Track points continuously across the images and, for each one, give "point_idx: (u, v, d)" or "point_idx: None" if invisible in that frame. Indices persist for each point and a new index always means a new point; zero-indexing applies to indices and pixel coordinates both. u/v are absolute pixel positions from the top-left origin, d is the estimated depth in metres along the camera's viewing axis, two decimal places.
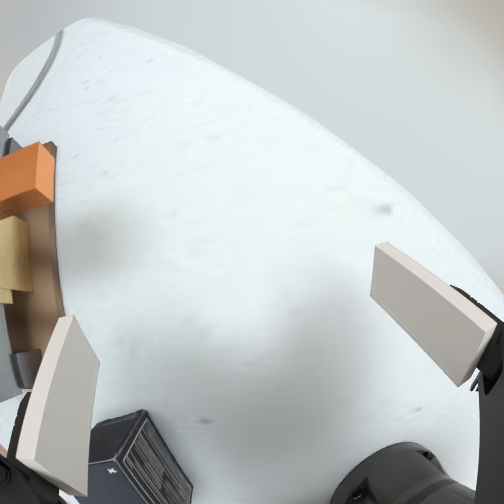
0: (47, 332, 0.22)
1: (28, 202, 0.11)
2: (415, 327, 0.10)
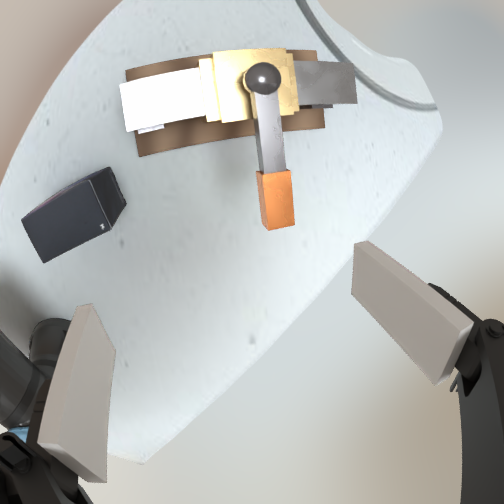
0: (178, 135, 0.35)
1: (263, 215, 0.27)
2: (392, 325, 0.10)
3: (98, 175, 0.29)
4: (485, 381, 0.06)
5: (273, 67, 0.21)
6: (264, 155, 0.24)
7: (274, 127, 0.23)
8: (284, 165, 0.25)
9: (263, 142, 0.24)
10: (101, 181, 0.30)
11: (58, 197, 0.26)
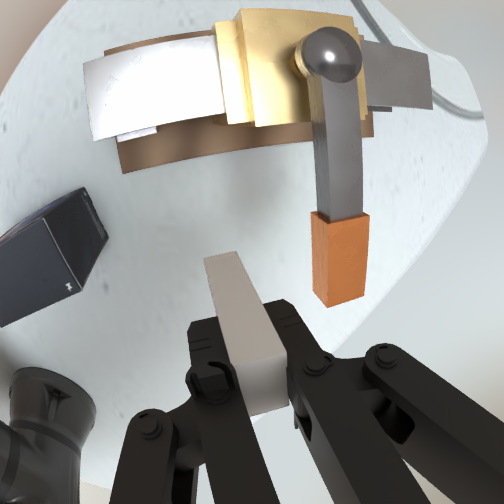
0: (177, 143, 0.24)
1: (318, 281, 0.17)
2: None
3: (61, 205, 0.19)
4: (318, 432, 0.06)
5: (350, 38, 0.11)
6: (332, 189, 0.14)
7: (350, 142, 0.13)
8: (361, 206, 0.15)
9: (333, 168, 0.13)
10: (66, 215, 0.19)
11: (5, 242, 0.15)
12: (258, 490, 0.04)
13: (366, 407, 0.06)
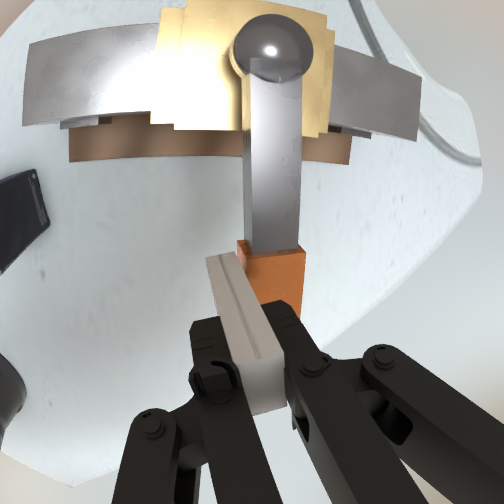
0: (127, 138, 0.21)
1: None
2: None
3: (1, 185, 0.15)
4: (316, 434, 0.06)
5: (299, 28, 0.09)
6: (256, 218, 0.12)
7: (285, 159, 0.11)
8: (295, 240, 0.12)
9: (258, 191, 0.11)
10: (3, 195, 0.16)
11: None
12: (260, 488, 0.04)
13: (363, 408, 0.06)
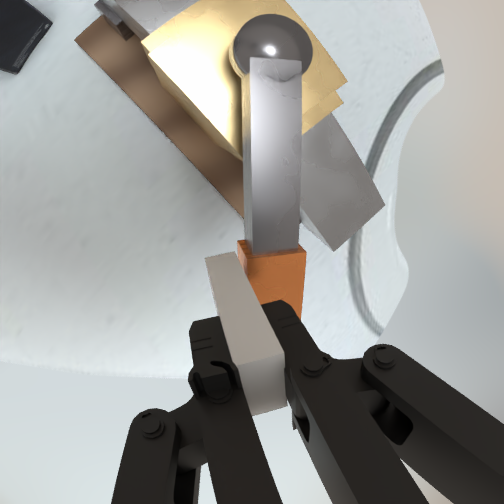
0: (123, 62, 0.19)
1: None
2: None
3: (23, 3, 0.10)
4: (316, 433, 0.06)
5: (298, 28, 0.09)
6: (256, 217, 0.12)
7: (285, 158, 0.11)
8: (295, 240, 0.12)
9: (258, 191, 0.11)
10: (16, 11, 0.10)
11: None
12: (260, 489, 0.04)
13: (363, 408, 0.06)
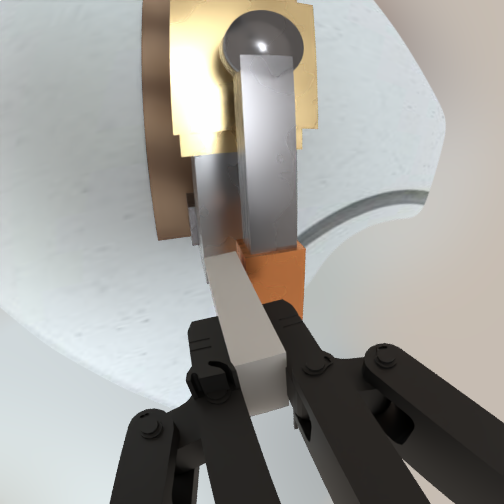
0: (161, 13, 0.17)
1: None
2: None
3: None
4: (317, 433, 0.06)
5: (287, 23, 0.08)
6: (253, 216, 0.11)
7: (280, 155, 0.11)
8: (294, 237, 0.12)
9: (253, 189, 0.11)
10: None
11: None
12: (258, 489, 0.04)
13: (365, 407, 0.06)
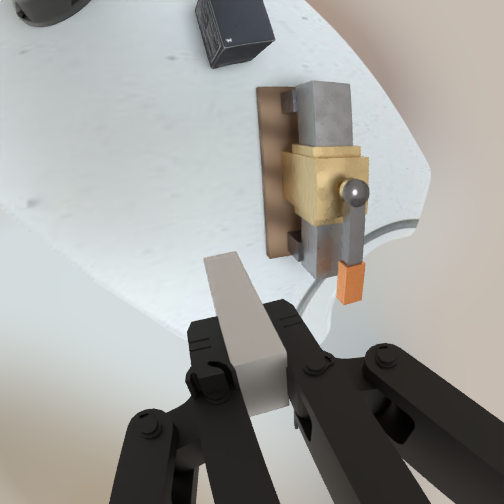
0: (272, 123, 0.38)
1: (340, 292, 0.35)
2: None
3: (264, 48, 0.29)
4: (318, 432, 0.06)
5: (365, 184, 0.29)
6: (350, 253, 0.32)
7: (359, 232, 0.31)
8: (361, 259, 0.33)
9: (351, 244, 0.32)
10: (258, 49, 0.29)
11: (265, 10, 0.24)
12: (257, 490, 0.04)
13: (366, 407, 0.06)
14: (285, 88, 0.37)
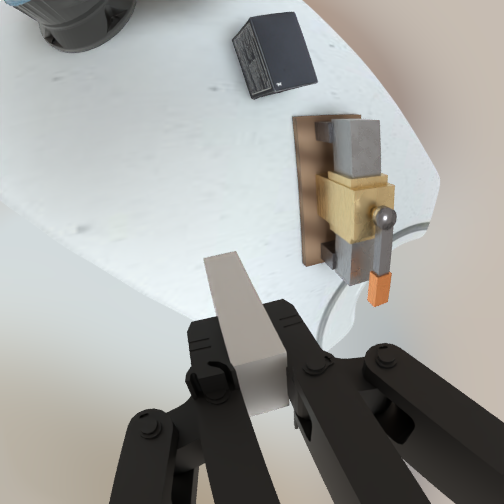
0: (308, 150, 0.44)
1: (370, 297, 0.41)
2: None
3: None
4: (318, 432, 0.06)
5: (393, 211, 0.35)
6: (380, 266, 0.38)
7: (387, 249, 0.37)
8: (388, 270, 0.39)
9: (381, 259, 0.38)
10: None
11: (308, 52, 0.29)
12: (257, 489, 0.04)
13: (365, 407, 0.06)
14: (318, 117, 0.42)
